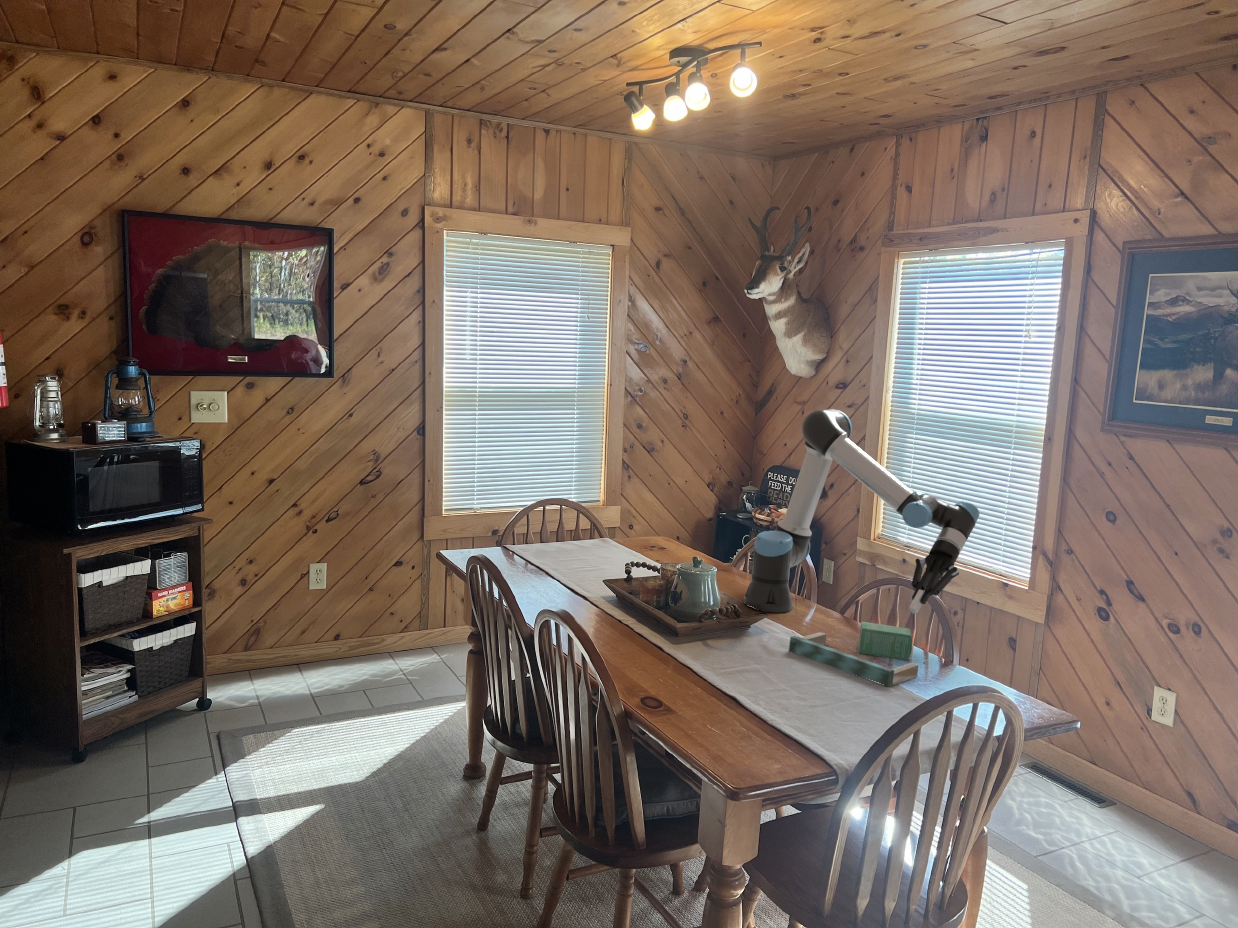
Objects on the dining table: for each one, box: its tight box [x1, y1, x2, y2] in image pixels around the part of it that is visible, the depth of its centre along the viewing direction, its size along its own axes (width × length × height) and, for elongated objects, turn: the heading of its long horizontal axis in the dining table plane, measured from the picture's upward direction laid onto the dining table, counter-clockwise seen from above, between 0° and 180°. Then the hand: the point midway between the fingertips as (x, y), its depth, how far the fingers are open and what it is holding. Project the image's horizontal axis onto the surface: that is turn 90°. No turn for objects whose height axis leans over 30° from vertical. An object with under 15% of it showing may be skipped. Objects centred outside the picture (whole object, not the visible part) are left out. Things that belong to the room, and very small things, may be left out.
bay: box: [788, 631, 919, 687], centre depth 231 cm, size 30×14×4 cm, turn 42°
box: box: [857, 621, 913, 661], centre depth 241 cm, size 7×14×8 cm, turn 77°
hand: (913, 610), depth 248 cm, fingers closed
